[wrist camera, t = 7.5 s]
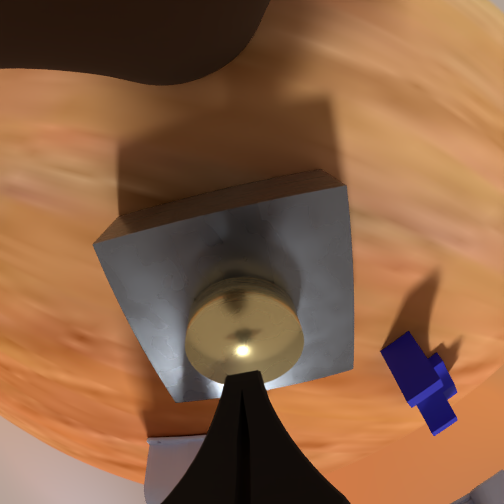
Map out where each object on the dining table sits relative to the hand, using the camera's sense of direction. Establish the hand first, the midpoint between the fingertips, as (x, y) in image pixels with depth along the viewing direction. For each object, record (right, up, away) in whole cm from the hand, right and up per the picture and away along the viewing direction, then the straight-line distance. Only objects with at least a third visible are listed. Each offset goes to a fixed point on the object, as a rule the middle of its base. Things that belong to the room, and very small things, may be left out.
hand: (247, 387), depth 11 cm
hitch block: (-1, +4, +8) cm, 8 cm away
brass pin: (-1, +3, +7) cm, 8 cm away
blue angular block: (+17, -5, +14) cm, 22 cm away
